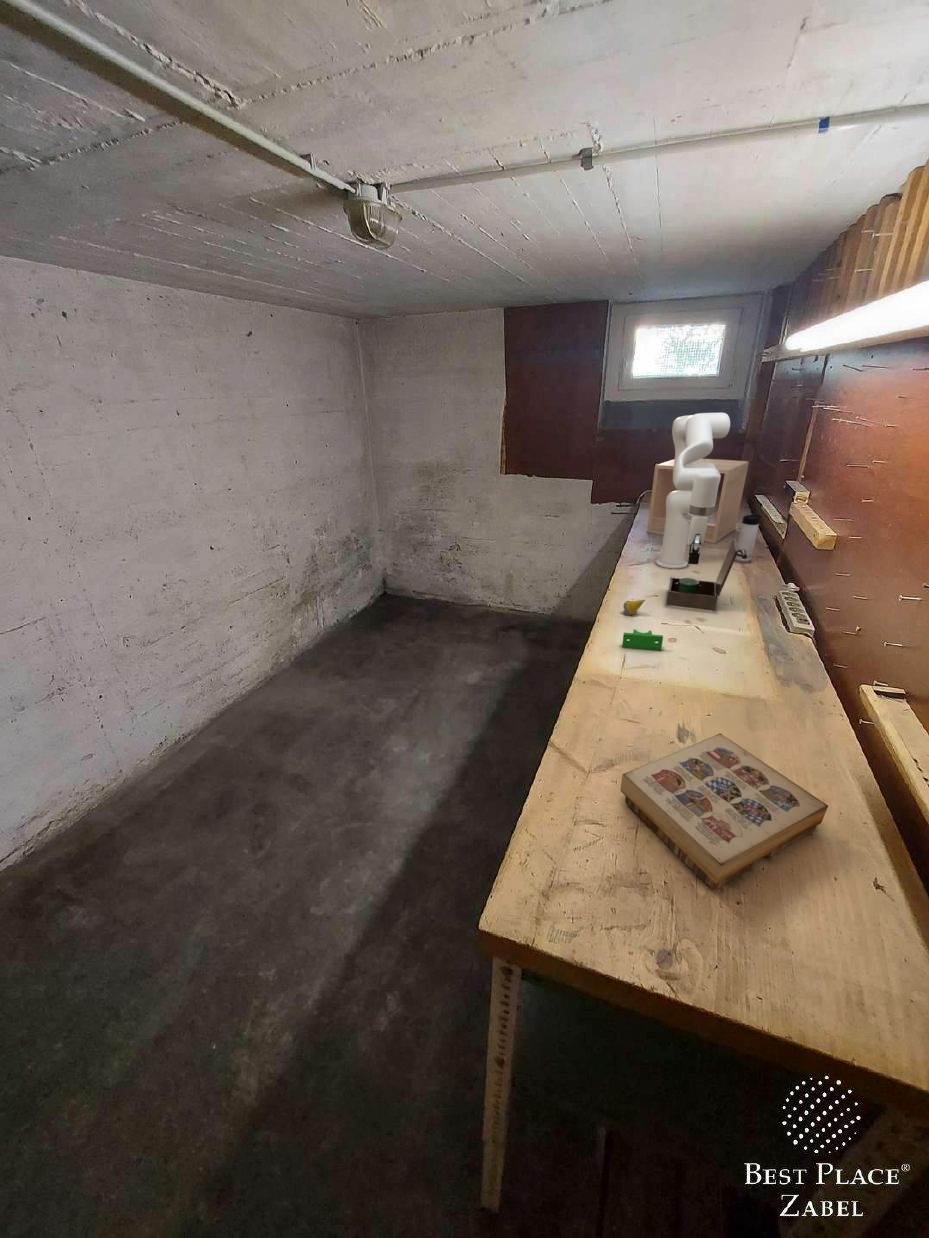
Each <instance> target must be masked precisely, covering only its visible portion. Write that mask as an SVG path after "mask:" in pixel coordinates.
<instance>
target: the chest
mask: <svg viewBox="0 0 929 1238" xmlns="http://www.w3.org/2000/svg"><path fill="white" fill-rule="evenodd" d="M680 579H681V578H678V577H670V579H669V585H668V591H667V597H666V603H665V605H666V606H671V607H672V606H673V607H679V608H688V609H696V610H704V611H712V612H715V611H716V607H717V601H718V597H719V596H717V593H716V581H707V580H701V579H700V580H698V579H697V580H698V581H699V585H702V588H699V587H697V593H696V594H690V593H682V592H678V590H679V585H675V583H679V580H680Z"/></svg>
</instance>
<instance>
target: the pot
mask: <svg viewBox="0 0 929 1238" xmlns="http://www.w3.org/2000/svg"><path fill="white" fill-rule="evenodd" d="M675 585H679V590H678V592H682V593H690V594H696V593H697V587H699V588H702V585H699V581H698V579H695V578H692V577H682V578H680V580H679V583H675Z"/></svg>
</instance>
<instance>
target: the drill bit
mask: <svg viewBox="0 0 929 1238" xmlns="http://www.w3.org/2000/svg"><path fill="white" fill-rule="evenodd" d="M645 601H646V599H640V600H632V601H631V600H626V601H625V602H623V612H624V613H625V614H624V616H627V615H628V616H630V617H633V616H635V615H636V614H637V613H638V611H639V609H640V608H641V607H642V605H643V604H644V602H645Z"/></svg>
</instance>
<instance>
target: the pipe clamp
mask: <svg viewBox="0 0 929 1238" xmlns="http://www.w3.org/2000/svg"><path fill="white" fill-rule="evenodd" d="M652 632H653V631H652V630H648V631H647V632H641V631H638V630H637V629H634V628H633V629H632V632H623V634H622V644H621V646H622V648H628V649H629V648H630V649H641V650H642V649H643V650H653V651H654V650H655V651H662V647H663V641H664V635H663V634H653V633H652Z"/></svg>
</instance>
